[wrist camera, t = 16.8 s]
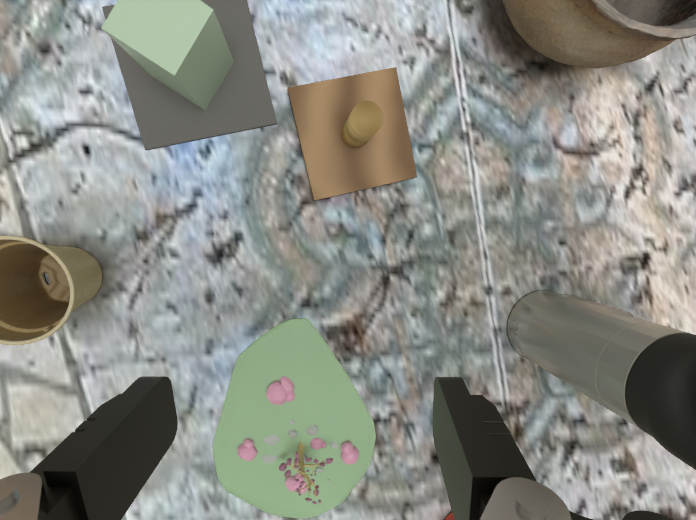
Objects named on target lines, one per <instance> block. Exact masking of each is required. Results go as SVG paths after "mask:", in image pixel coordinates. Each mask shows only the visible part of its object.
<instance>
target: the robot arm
mask: <svg viewBox="0 0 696 520" xmlns="http://www.w3.org/2000/svg"><path fill="white" fill-rule="evenodd" d="M507 329H508V337H509V340H510V342H511V344H512V346H513V348H514V349H515V350H516V351H517V352H518V353H520V354H521V355H523V356H524V357H526V358H527V359H529V360H531V361H532V362H534V363H535V364H537V365H538V366H540V367H542V368H543V369H545V370H546V371H548V372H550V373H551V374H553V375H554V376H556V377H558V378H559V379H561V380H562V381H564V382H566V383H567V384H569V385H570V386H572V387H574V388H575V389H577V390H578V391H580V392H582V393H583V394H585V395H586V396H588V397H590V398H591V399H593V400H594V401H596V402H598V403H599V404H601V405H602V406H604V407H606V408H607V409H609V410H611V411H612V412H614V413H616V414H617V415H619V416H620V417H622V418H624V419H625V420H627V421H628V422H630V423H632V424H633V425H635V426H636V427H638V428H640V429H641V430H643V431H644V432H646V433H648V434H649V435H651V436H652V437H654V438H655V439H656V440H657V441H658V442H659V443H660V444H661V445H662V446H663V447H664V448H665V449H666V450H667V451H669V452H670V453H671V454H673V455H674V456H676V457H677V458H679V459H680V460H682V461H683V462H685V463H686V464H688V465H689V466H691V467H692V468H694V469H695V470H696V335H693V334H689V333H686V332H682V331H679V330H676V329H673V328H669V327H666V326H663V325H659V324H656V323H652V322H649V321H646V320H643V319H639V318H636V317H634V316H633V315H632V314H631V313H629V312H626V311H623V310H619V309H616V308H613V307H609V306H606V305H602V304H599V303H596V302H592V301H589V300H585V299H582V298H579V297H575V296H572V295H568V294H566V295H561V294H558V293H555V292H551V291H546V290H545V291H536V292H532V293H530V294H528V295H526V296H525V297H523V298H522V299H521V300H520V301H519V302H518V303H517V304H516V305H515V306H514V308H513V310H512V312H511V314H510V317H509V319H508V326H507ZM176 432H177V415H176V409H175V403H174V397H173V391H172V385H171V381H170V379H169V378H168V377H140V378H138V379H137V380H136V381H135V382H134V383H133V384H132V385H131V386H130V387H129V388H128V389H127V390H126V391H125V392H124V393H123V394H119V395H117V396H116V397H114V398H112V399H111V400H109V401H107V402H106V403H104V404H102V405H101V406H100V407H99V408H98V409H97V410H96V411H95V412H93V413H92V414H91V415H90V416H89V417H88V418H87V421H84V422H83V423H82V424H81V425H80V426H79V427H78V428H76V430H75V432H72V433H71V434H70V435H69V436H68V437H67V438H66V439H65V440H64V441H63V442H62V443H61V444H59V445H58V446H57V447H56V448H55V449H54V450H53V451H52V452H51V453H50V454H49V455H48V456H47V457H46V458H45V459H44V460H42V461H41V462H40V463H39V464H38V465H37V466H36V467H35V468H34V469H33V470H32V471H31V472H30V473H20V474H15V475H11V476H8V477H5V478H3V479H0V520H121V519H122V517H123V516H124V514H125V513H126V511H127V510H128V508H129V507H130V505H131V504H132V502H133V501H134V499H135V498H136V496H137V495H138V493H139V492H140V490H141V489H142V487H143V486H144V484H145V483H146V481H147V480H148V479H149V477H150V476H151V474H152V473H153V471H154V470H155V468H156V467H157V465H158V464H159V462H160V461H161V459H162V458H163V456H164V455H165V453H166V452H167V450H168V449H169V447H170V446H171V444H172V442H173V440H174V438H175V435H176ZM433 437H434V443H435V448H436V451H437V455H438V459H439V463H440V467H441V471H442V474H443V478H444V482H445V486H446V490H447V494H448V497H449V501H450V505H451V509H452V513H453V517H454V520H593V519H589V518H586V517H583V516H580V515H577V514H575V513H573V512H571V511H569V510H568V508H567V506H566V505H565V503H564V502H563V501H562V500H561V498H560V497H559V496H558V495H557V494H555V493H554V492H553V491H552V490H550V489H549V488H547V487H546V486H544V485H542V484H540V483H538V482H537V481H536V479H535V477H534V476H533V474H532V472H531V470H530V468H529V467H528V465H527V463H526V461H525V459H524V457H523V456H522V454H521V452H520V450H519V448H518V446H517V445H516V443H515V441H514V439H513V437H512V436H510V432H509V430H508V428H507V426H506V425H505V424H504V422H503V419H502V417H501V416H500V414H499V412H498V410H497V408H496V407H495V406H494V405H493V404H492V403H491V402H489V401H488V400H487V399H486V398H485V397H484V396H482V395H470V393H469V391H468V389H467V387H466V385H465V383H464V380H463V379H462V378H461V377H436V378H435V382H434V401H433ZM623 520H673V519H671V518H668V517H666V516H663V515H661V514H658V513H654V512H649V511H633V512H630V513H628V514H627V515H625V516H624V518H623Z"/></svg>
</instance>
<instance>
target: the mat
mask: <svg viewBox="0 0 696 520" xmlns="http://www.w3.org/2000/svg"><path fill="white" fill-rule="evenodd" d="M201 1H202V2H203V3H205V4H206V5H208V6H209V7H210V8H212V9H213V10H214V12H215V15H216V17H217V20H218V22H219V25H220V27H221V30H222V32H223V35H224V37H225V40H226V42H227V45H228V47H229V50H230V52H231V55H232V57H233V60H234V63H233V65H232V66H231V68H230V70H229V71H228V73H227V75H226V76H225V78H224V80H223V81H222V83H221V85H220V87H219V88H218V90H217V92H216V93H215V95H214V97H213V98H212V100H211V102H210V103H209V105H208V107H207V108H206V110H203V109H202V108H200V107H198V106H197V105H195V104H194V103H192V102H191V101H189V100H188V99H186V98H185V97H183V96H181V95H180V94H178V93H177V92H175V91H174V90H172V89H171V88H169V87H167V86H166V85H164V84H163V83H161V82H160V81H158V80H157V79H155V78H154V77H152V76H151V75H150V74H149V73H148V72H147V71H146V70H145V69H144V68H143V67H142V66H140V65H139V64H138V63H137V62H136V61H135V60H134V59H133V58H132V57H131V56H130V55H129V54H128V53H127V52H126V51H125V50H124V49H123V48H122V47H121V46H120V45H119V44H118V43H117V42H115V41H114V40H113V39H112V42H113V45H114V48H115V52H116V55H117V58H118V62H119V65H120V68H121V72H122V75H123V78H124V81H125V85H126V88H127V91H128V95H129V98H130V101H131V105H132V108H133V111H134V115H135V118H136V121H137V124H138V128H139V131H140V134H141V138H142V141H143V144H144V148H145V150H150V149H155V148H160V147H165V146H170V145H175V144H180V143H185V142H190V141H195V140H200V139H205V138H210V137H215V136H220V135H225V134H230V133H235V132H240V131H245V130H250V129H255V128H260V127H265V126H270V125H275V124H277V122H276V118H275V114H274V110H273V106H272V102H271V98H270V94H269V90H268V86H267V82H266V78H265V73H264V69H263V65H262V61H261V57H260V53H259V49H258V45H257V41H256V37H255V33H254V29H253V25H252V20H251V16H250V12H249V8H248V4H247V0H201ZM113 7H114V5H111V6H105V7H102V9H103V12H104V15H105V19H107V18H108V16H109V14H110V12H111V11H112V9H113Z"/></svg>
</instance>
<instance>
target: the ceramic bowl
mask: <svg viewBox="0 0 696 520" xmlns="http://www.w3.org/2000/svg"><path fill="white" fill-rule="evenodd" d="M502 1H503V4H504V7H505V10H506V12H507V15H508V17H509V18H510V20H511V23H512V25H513V27H514V29H515V30H516V31H517V32H518V34H519V35H520V36H521V37H522V38H523V39H524V40H525V42H526V43H527V44H528V45H529V46H530V47H532V48H533V49H534V50H536V51H537V52H539V53H540V54H542V55H544V56H546V57H548V58H550V59H552V60H554V61H557V62H560V63H564V64H568V65H573V66H582V67H590V68H602V67H609V66H615V65H619V64H623V63H627V62H632V61H635V60H638V59H640V58H643V57H646V56H647V55H649V54H651V53H653V52H655V51H657V50H659V49H661V48H664V47H665V46H667V45H668V44H670V43H671V42H673V41H674V40H676V39H682V38H689V37H691V36H695V35H696V0H502Z"/></svg>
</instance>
